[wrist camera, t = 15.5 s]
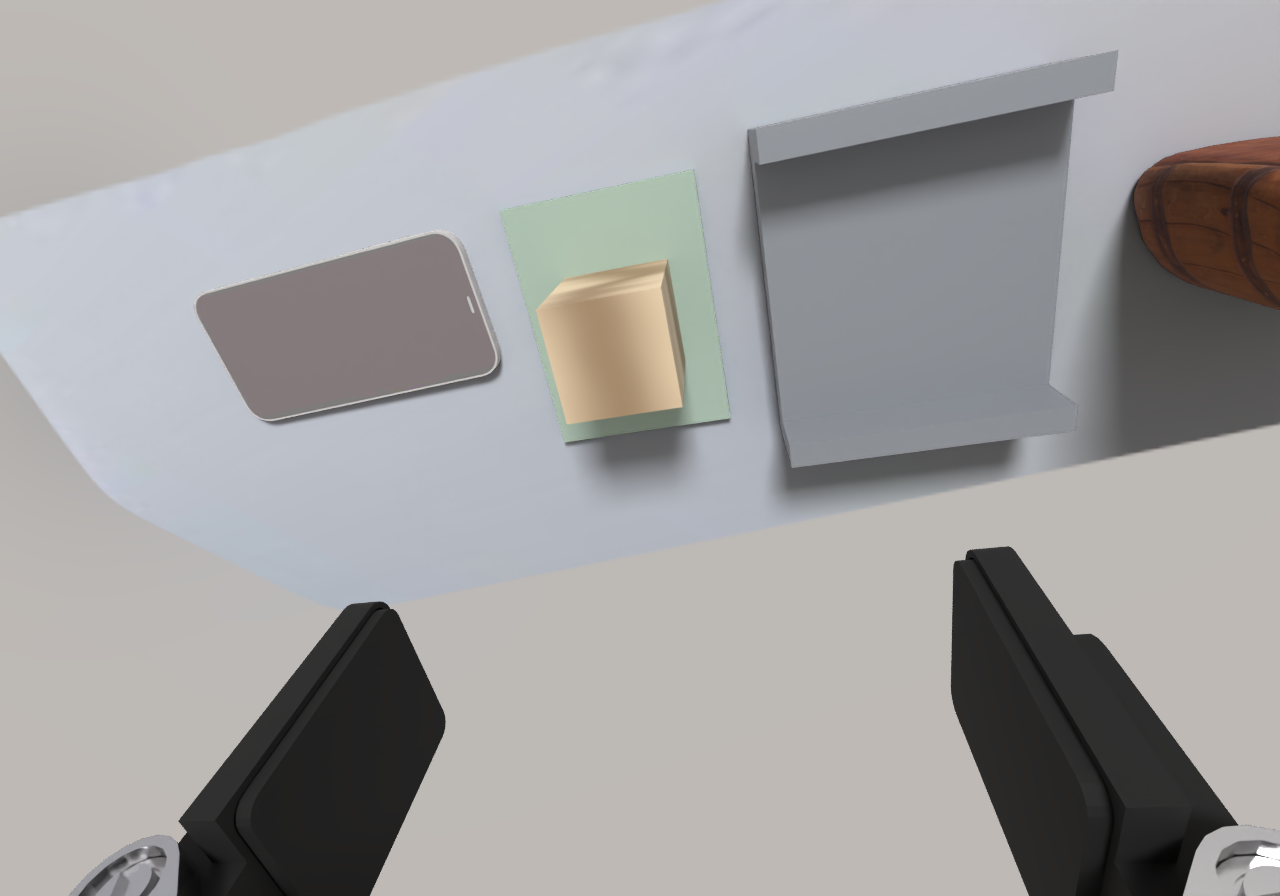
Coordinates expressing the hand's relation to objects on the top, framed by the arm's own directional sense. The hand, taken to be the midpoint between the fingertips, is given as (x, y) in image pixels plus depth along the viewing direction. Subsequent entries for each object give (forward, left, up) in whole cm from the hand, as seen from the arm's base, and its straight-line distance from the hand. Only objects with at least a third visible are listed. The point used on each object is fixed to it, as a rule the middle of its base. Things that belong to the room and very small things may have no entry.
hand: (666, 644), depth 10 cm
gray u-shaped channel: (-10, 0, -23) cm, 25 cm away
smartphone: (+17, -2, -23) cm, 29 cm away
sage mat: (+3, 0, -23) cm, 23 cm away
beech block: (+3, 0, -22) cm, 22 cm away
